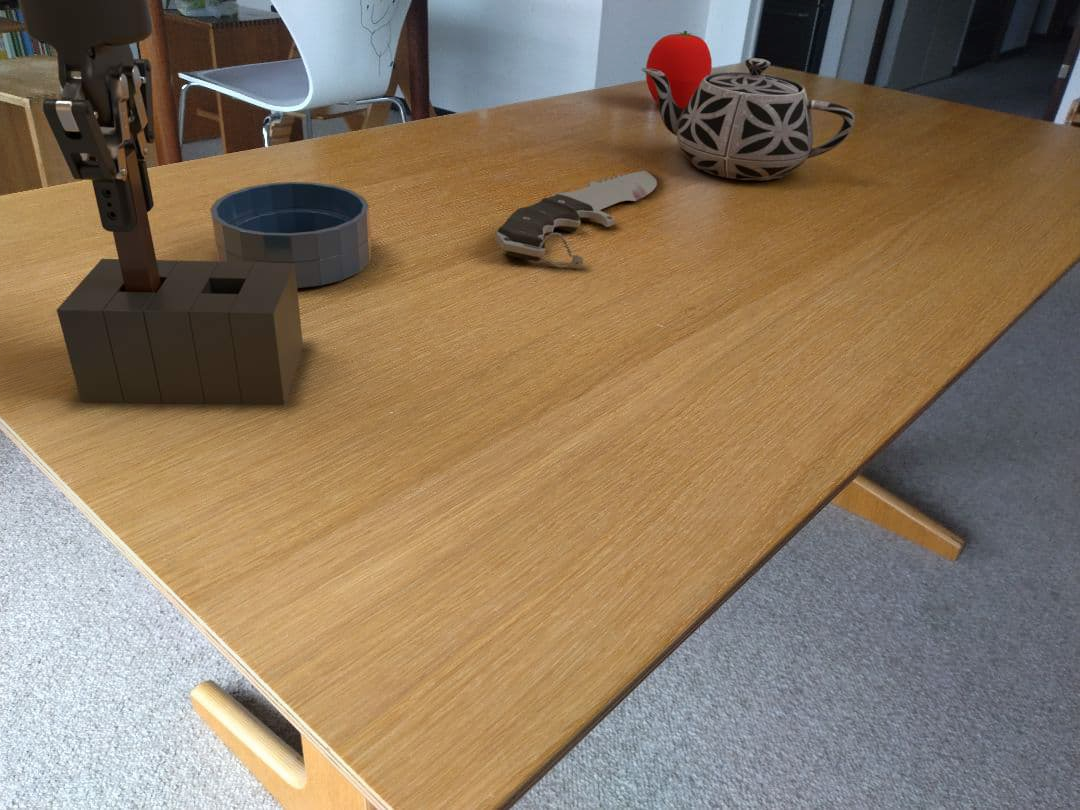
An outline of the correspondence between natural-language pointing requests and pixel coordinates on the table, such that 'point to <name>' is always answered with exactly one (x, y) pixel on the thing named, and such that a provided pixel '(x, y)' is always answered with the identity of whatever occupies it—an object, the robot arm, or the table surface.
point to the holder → (185, 334)
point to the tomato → (680, 65)
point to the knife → (568, 215)
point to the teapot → (747, 123)
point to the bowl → (295, 229)
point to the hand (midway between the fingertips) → (129, 219)
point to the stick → (137, 239)
